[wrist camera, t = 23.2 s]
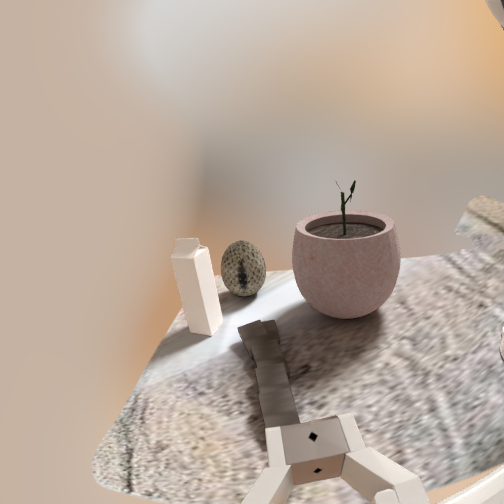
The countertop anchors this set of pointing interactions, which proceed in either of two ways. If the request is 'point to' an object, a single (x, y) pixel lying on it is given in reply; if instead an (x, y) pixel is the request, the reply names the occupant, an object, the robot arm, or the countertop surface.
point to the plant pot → (346, 261)
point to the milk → (196, 286)
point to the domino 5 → (278, 408)
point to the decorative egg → (243, 268)
